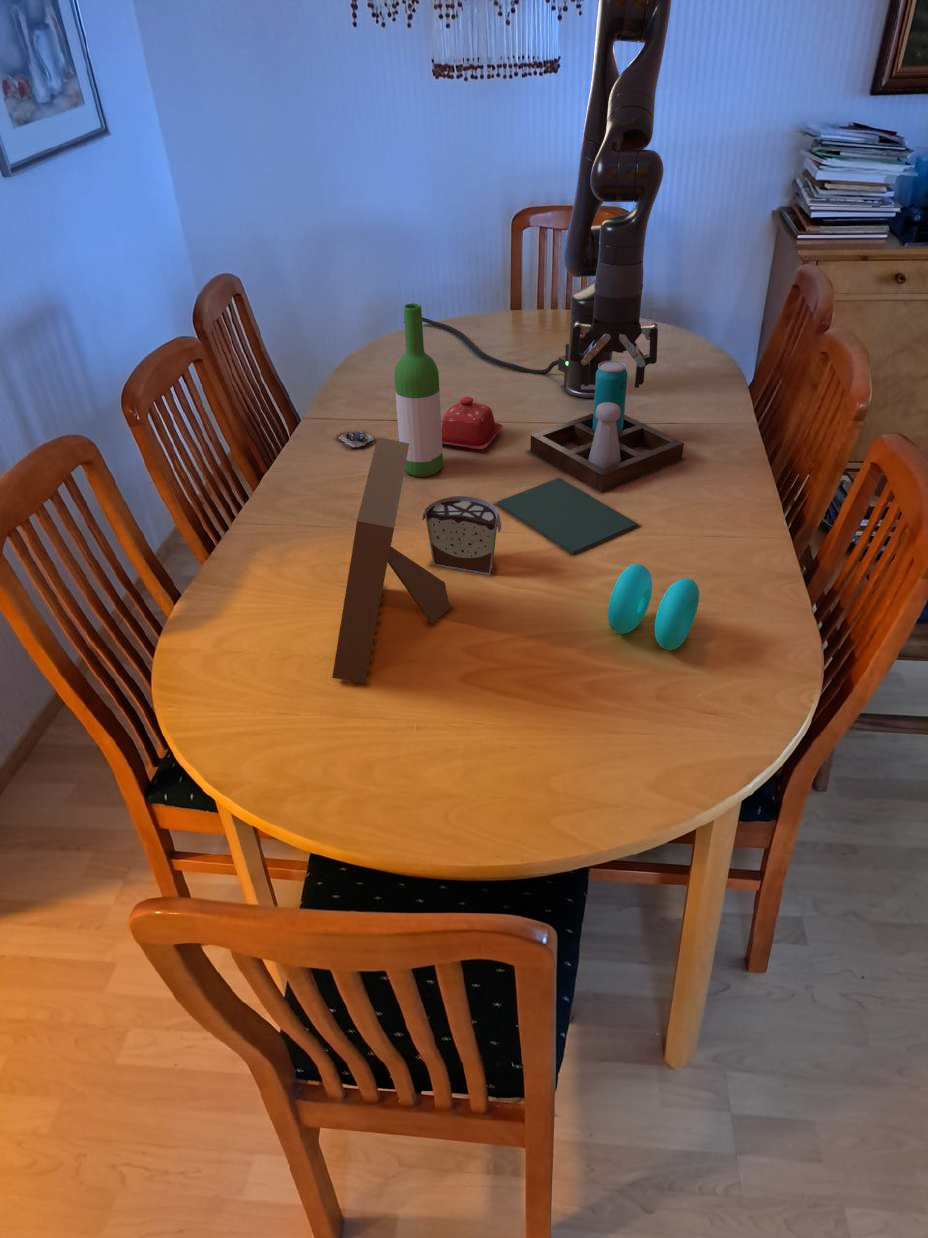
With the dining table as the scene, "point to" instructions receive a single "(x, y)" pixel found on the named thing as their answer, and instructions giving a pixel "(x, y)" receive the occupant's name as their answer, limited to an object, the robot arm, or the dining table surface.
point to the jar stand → (633, 435)
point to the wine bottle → (418, 400)
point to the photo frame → (379, 564)
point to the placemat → (567, 515)
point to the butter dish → (469, 425)
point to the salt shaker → (606, 436)
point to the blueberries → (356, 438)
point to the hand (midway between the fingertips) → (611, 385)
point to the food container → (462, 533)
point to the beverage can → (611, 388)
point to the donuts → (634, 601)
